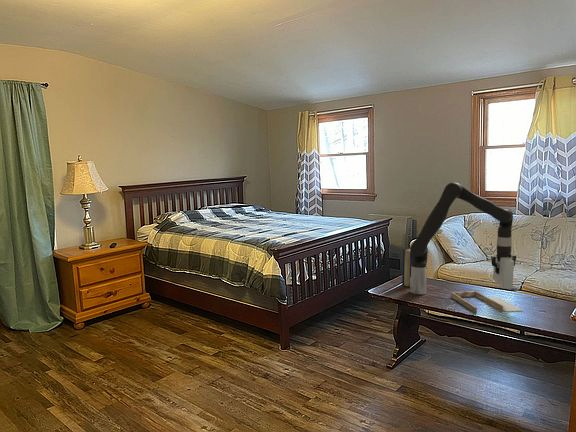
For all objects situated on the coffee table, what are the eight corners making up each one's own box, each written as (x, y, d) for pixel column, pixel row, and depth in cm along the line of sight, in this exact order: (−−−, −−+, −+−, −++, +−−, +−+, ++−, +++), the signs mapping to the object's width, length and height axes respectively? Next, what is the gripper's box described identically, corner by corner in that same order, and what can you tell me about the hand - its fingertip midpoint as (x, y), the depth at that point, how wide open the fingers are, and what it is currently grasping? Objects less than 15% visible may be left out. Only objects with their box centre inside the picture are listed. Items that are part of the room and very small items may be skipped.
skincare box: (513, 289, 239) (514, 261, 237) (502, 289, 240) (503, 260, 238) (502, 279, 260) (503, 252, 258) (492, 278, 261) (493, 252, 259)
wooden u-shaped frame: (474, 313, 239) (475, 307, 239) (451, 297, 268) (451, 292, 267) (502, 311, 240) (503, 306, 240) (476, 295, 269) (476, 291, 268)
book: (417, 279, 309) (418, 244, 305) (427, 281, 303) (427, 245, 300) (401, 286, 294) (401, 249, 290) (411, 288, 288) (411, 250, 285)
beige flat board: (505, 312, 239) (505, 311, 239) (482, 298, 263) (482, 297, 263) (523, 311, 240) (523, 310, 240) (498, 297, 264) (498, 297, 264)
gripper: (512, 242, 252) (511, 271, 254) (488, 243, 250) (487, 272, 252) (520, 245, 244) (519, 274, 246) (495, 246, 243) (494, 275, 245)
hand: (503, 273), depth 249 cm, fingers closed on skincare box, 6 cm apart
